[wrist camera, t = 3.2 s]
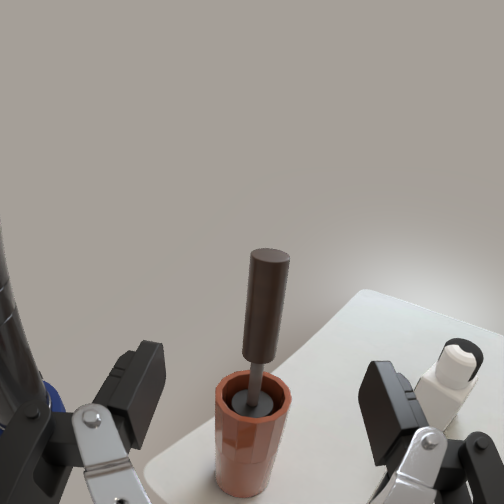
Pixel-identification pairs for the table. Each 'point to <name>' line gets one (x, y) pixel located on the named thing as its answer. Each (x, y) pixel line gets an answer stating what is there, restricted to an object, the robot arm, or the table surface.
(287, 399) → the tube
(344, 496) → the table surface
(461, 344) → the medicine bottle
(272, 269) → the bottle brush
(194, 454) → the table surface
